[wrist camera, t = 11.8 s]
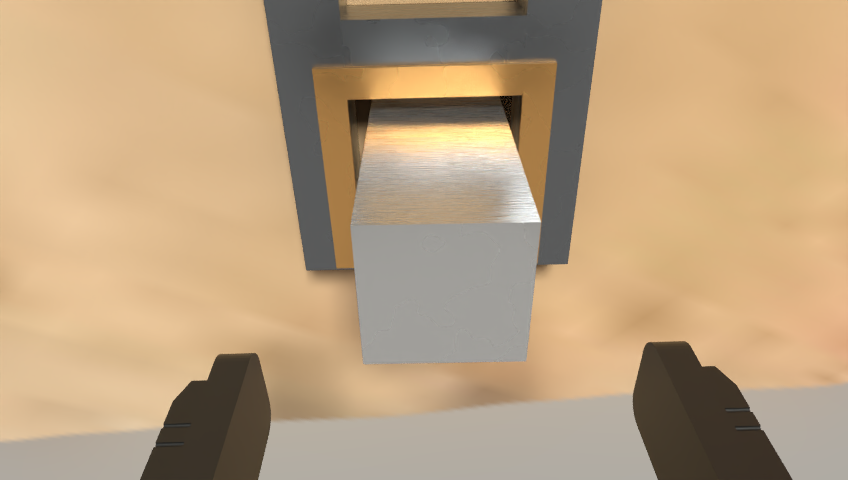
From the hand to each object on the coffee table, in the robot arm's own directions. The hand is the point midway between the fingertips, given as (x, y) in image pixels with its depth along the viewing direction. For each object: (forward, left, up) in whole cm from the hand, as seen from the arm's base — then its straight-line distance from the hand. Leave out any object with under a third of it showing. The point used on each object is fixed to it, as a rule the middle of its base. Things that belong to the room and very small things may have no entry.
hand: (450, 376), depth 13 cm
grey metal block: (0, 0, -12) cm, 12 cm away
